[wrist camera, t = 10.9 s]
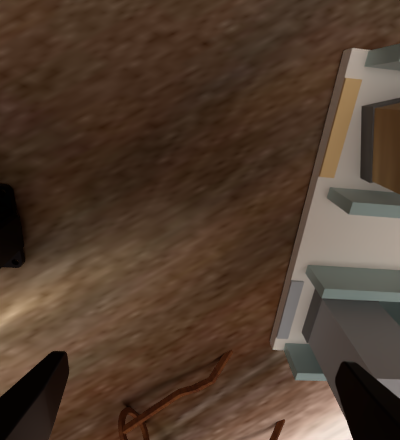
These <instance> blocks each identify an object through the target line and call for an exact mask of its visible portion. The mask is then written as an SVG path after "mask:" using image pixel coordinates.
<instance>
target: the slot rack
mask: <svg viewBox="0 0 400 440" xmlns="http://www.w3.org/2000/svg"><path fill="white" fill-rule="evenodd" d="M395 98H400V44H396V45H392V46H387V47H383V48H379V49H375V50H365V49H356V48H351V49H347V50H344V51H343V55H342V59H341V63H340V67H339V71H338V75H337V79H336V83H335V86H334V90H333V94H332V98H331V102H330V106H329V110H328V114H327V118H326V122H325V126H324V130H323V134H322V138H321V141H320V145H319V149H318V153H317V157H316V161H315V165H314V169H313V173H312V177H311V181H310V185H309V189H308V193H307V197H306V200H305V204H304V208H303V212H302V216H301V220H300V224H299V228H298V232H297V236H296V240H295V244H294V248H293V252H292V256H291V259H290V263H289V267H288V271H287V275H286V279H285V283H284V287H283V291H282V295H281V299H280V303H279V307H278V311H277V314H276V318H275V322H274V326H273V330H272V334H271V338H270V343H271V346H272V349H273V350H284V352H285V355H286V357H287V360H288V363H289V365H290V368H291V371H292V373H293V376H294V378H295V380H311V381H327V380H326V378H325V376H324V373H323V371H322V369H321V367H320V365H319V363H318V361H317V359H316V357H315V355H314V353H313V351H312V349H311V347H310V345H309V343H306V340H305V338H304V336H303V334H302V329H303V326H304V322H305V319H306V316H307V313H308V309H309V306H310V303H311V300H312V297H313V293H314V290H315V289H316V290H317V292H318V293H319V295H320V296H321V298H327V299H347V300H367V301H379V302H378V303H379V304H380V305H381V306H382V307H383V308H384V309H385V310H386V312H387V313H388V314H389V315H390V316H391V317H392V318H393V319H394V320H395V321H396V322H397V324H398V325H399V326H400V194H398V193H395V192H393V191H391V190H389V189H387V188H385V187H383V186H381V185H378V184H376V183H369V182H367V181H365V180H363V179H361V178H360V160H361V109H362V106H364V105H368V104H373V103H377V102H382V101H386V100H391V99H395Z"/></svg>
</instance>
